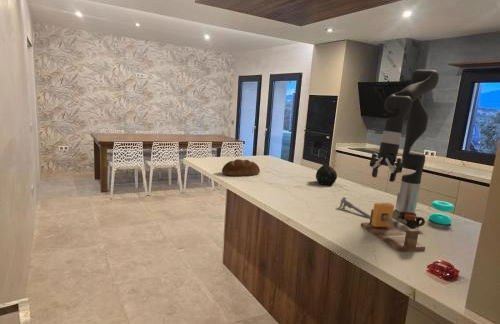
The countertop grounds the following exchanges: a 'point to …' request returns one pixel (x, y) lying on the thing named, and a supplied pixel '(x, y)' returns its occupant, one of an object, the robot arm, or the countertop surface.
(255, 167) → the bread
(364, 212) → the caliper
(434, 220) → the donuts
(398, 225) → the pipe stand
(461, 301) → the countertop surface
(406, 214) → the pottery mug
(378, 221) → the collar
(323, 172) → the squash
